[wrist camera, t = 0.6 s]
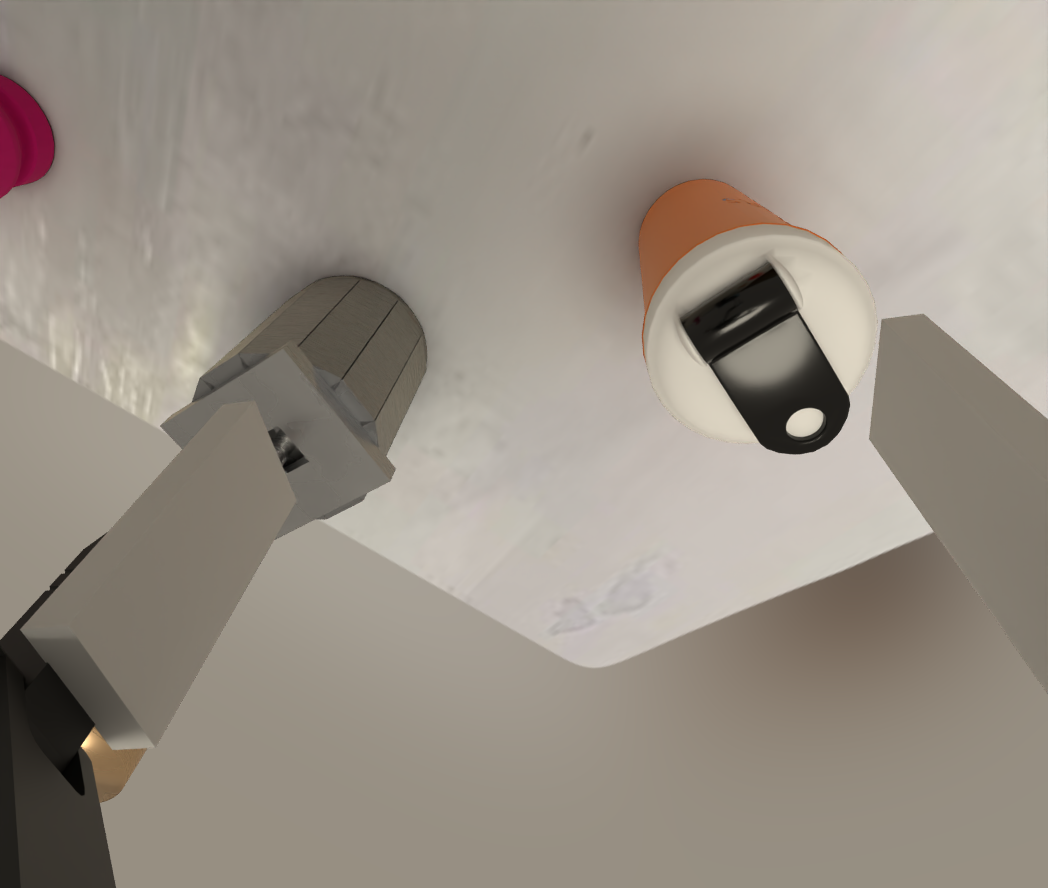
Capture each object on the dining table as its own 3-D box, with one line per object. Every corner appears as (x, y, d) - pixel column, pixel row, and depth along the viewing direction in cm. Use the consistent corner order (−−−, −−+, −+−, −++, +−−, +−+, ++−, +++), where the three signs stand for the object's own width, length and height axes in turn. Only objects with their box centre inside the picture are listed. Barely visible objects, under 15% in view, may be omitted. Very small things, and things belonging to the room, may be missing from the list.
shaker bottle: (685, 336, 45) (749, 517, 28) (592, 238, 43) (600, 372, 25) (802, 240, 42) (957, 380, 25) (709, 126, 39) (810, 194, 22)
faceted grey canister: (221, 342, 48) (98, 445, 36) (367, 247, 44) (284, 326, 32) (313, 450, 52) (231, 576, 40) (455, 372, 48) (411, 486, 36)
